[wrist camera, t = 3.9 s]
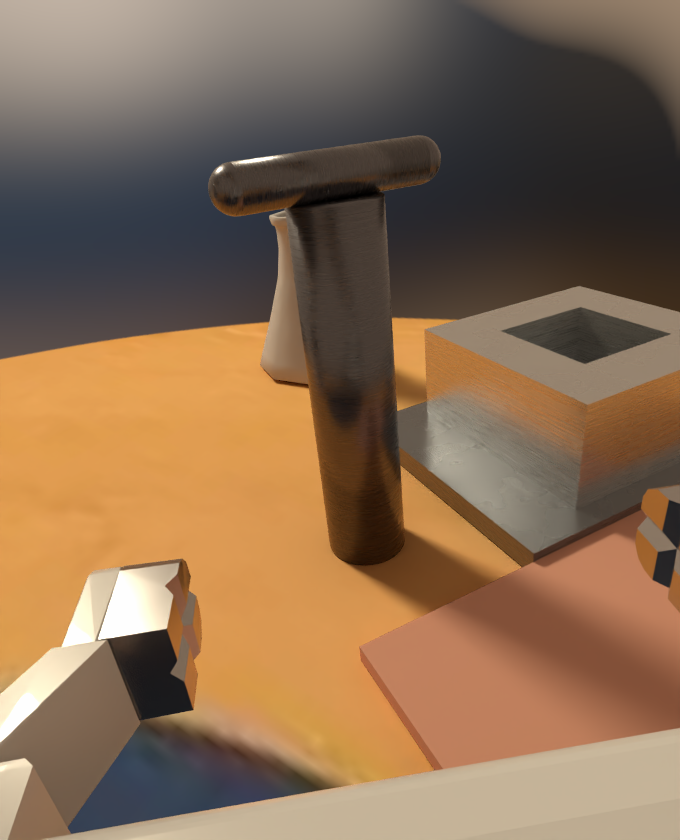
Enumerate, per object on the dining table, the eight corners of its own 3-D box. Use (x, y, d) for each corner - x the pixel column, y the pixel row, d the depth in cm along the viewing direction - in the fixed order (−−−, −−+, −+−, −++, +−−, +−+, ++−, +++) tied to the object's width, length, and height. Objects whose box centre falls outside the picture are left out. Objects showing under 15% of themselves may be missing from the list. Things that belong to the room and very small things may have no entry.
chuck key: (297, 599, 21) (220, 167, 14) (268, 552, 24) (190, 163, 17) (464, 526, 24) (466, 132, 17) (423, 491, 26) (409, 133, 20)
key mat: (627, 1057, 11) (630, 1043, 10) (360, 659, 19) (359, 646, 18) (1007, 699, 16) (1017, 684, 15) (667, 507, 24) (669, 495, 23)
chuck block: (532, 574, 21) (541, 443, 19) (368, 438, 31) (360, 338, 28) (804, 440, 27) (841, 324, 24) (594, 360, 37) (604, 271, 34)
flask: (390, 358, 40) (381, 204, 35) (310, 397, 36) (287, 228, 31) (320, 338, 45) (304, 200, 40) (242, 370, 41) (214, 220, 36)
